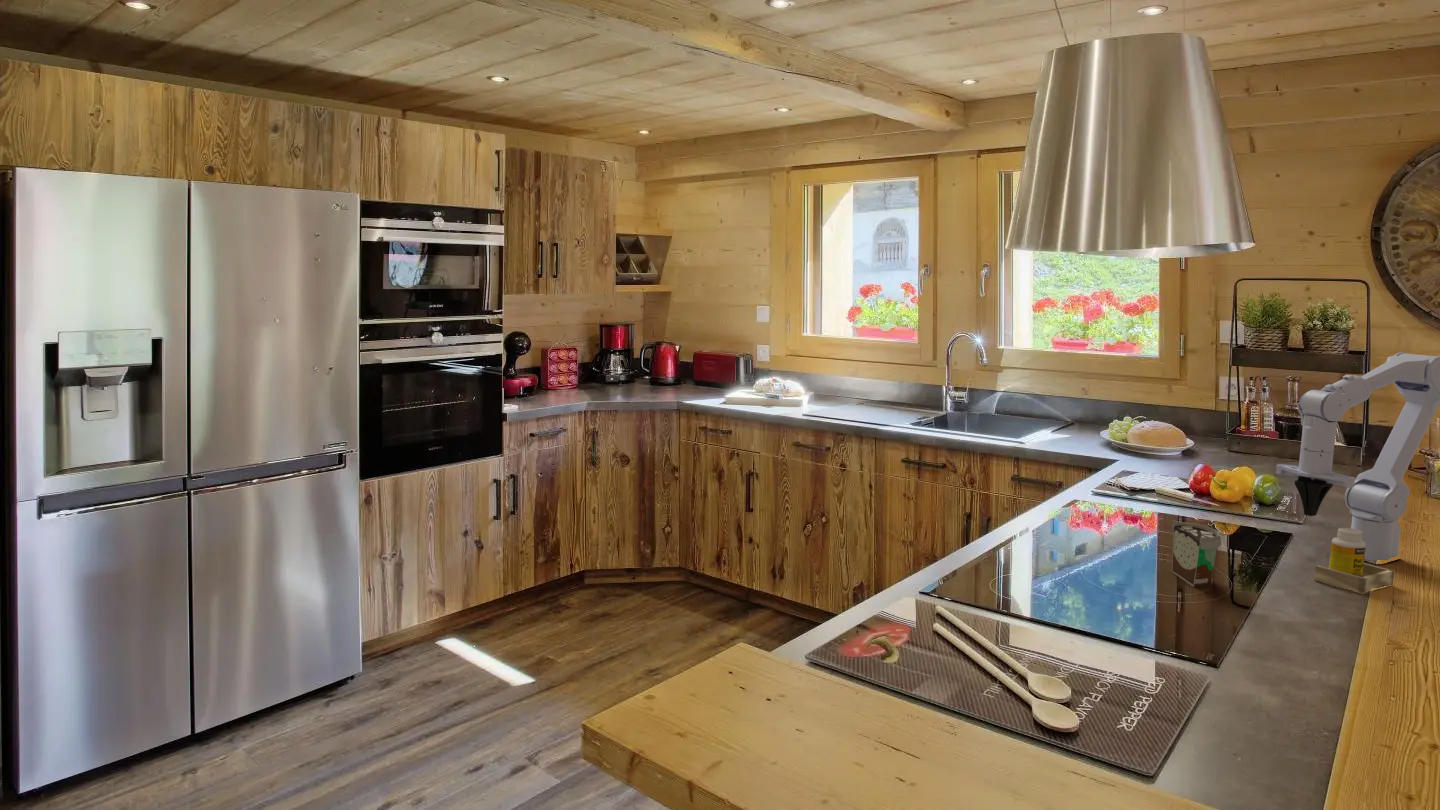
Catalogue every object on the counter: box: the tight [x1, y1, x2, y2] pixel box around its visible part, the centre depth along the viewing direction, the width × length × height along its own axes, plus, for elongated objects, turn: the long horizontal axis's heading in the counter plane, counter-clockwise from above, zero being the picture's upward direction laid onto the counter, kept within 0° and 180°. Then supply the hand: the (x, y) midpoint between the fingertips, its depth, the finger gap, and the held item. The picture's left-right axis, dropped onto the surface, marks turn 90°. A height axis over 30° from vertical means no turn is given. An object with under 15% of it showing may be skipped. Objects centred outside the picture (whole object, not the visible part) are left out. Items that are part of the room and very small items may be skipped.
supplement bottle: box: [1328, 527, 1366, 575], centre depth 184 cm, size 6×6×10 cm
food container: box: [1171, 521, 1222, 588], centre depth 184 cm, size 12×6×10 cm, turn 179°
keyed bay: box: [1313, 562, 1395, 593], centre depth 183 cm, size 11×9×3 cm
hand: (1310, 514), depth 194 cm, fingers closed
